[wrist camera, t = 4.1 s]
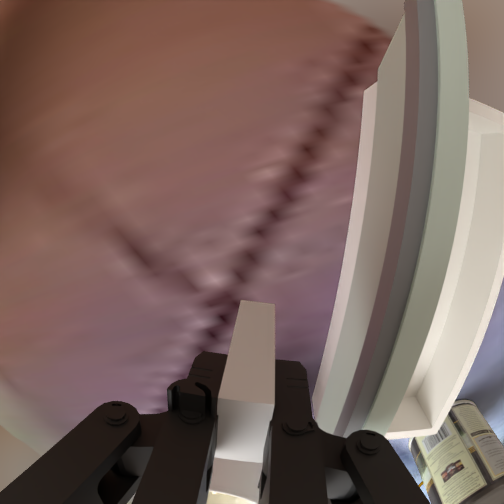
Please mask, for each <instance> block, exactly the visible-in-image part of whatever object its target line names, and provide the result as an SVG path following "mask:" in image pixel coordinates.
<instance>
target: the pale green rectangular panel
mask: <svg viewBox="0 0 504 504" xmlns="http://www.w3.org/2000/svg"><path fill="white" fill-rule="evenodd" d="M404 9H405V12H404V14H403V17H402V19H401V21H400V23H399V25H398V27H397V30H396V32H395V34H394V36H393V38H392V40H391V43H390V45H389V47H388V49H387V51H386V53H385V55H384V57H383V60H382V62H381V64H380V66H379V68H378V81H377V99H376V114H375V126H374V137H373V147H372V157H371V166H370V174H369V182H368V190H367V197H366V204H365V211H364V217H363V223H362V230H361V236H360V241H359V247H358V253H357V258H356V263H355V268H354V274H353V279H352V283H351V288H350V293H349V298H348V302H347V307H346V311H345V315H344V320H343V324H342V328H341V332H340V336H339V340H338V344H337V348H336V352H335V356H334V360H333V363H332V367H331V371H330V374H329V378H328V381H327V385H326V388H325V392H324V395H323V399H322V402H321V405H320V408H319V412H318V415H317V418H316V422H317V424H318V426H319V428H320V429H322V430H323V431H325V432H327V433H330V434H332V435H336V436H340V437H344V438H347V437H348V436H349V435H350V434H351V433H353V432H355V431H358V430H371V431H376V432H377V433H379V434H381V435H383V436H384V437H385V435H386V433H387V431H388V429H389V427H390V425H391V423H392V421H393V418H394V416H395V414H396V412H397V410H398V408H399V406H400V404H401V401H402V399H403V397H404V395H405V392H406V390H407V388H408V385H409V383H410V381H411V378H412V376H413V373H414V371H415V368H416V366H417V363H418V361H419V358H420V355H421V353H422V350H423V347H424V344H425V342H426V339H427V336H428V333H429V330H430V327H431V324H432V321H433V318H434V315H435V311H436V308H437V305H438V301H439V298H440V294H441V291H442V287H443V284H444V280H445V276H446V272H447V268H448V264H449V260H450V255H451V251H452V246H453V242H454V237H455V232H456V227H457V221H458V215H459V210H460V203H461V197H462V190H463V182H464V174H465V165H466V154H467V141H468V124H469V68H468V49H467V38H466V27H465V18H464V12H463V4H462V0H405V2H404Z"/></svg>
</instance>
